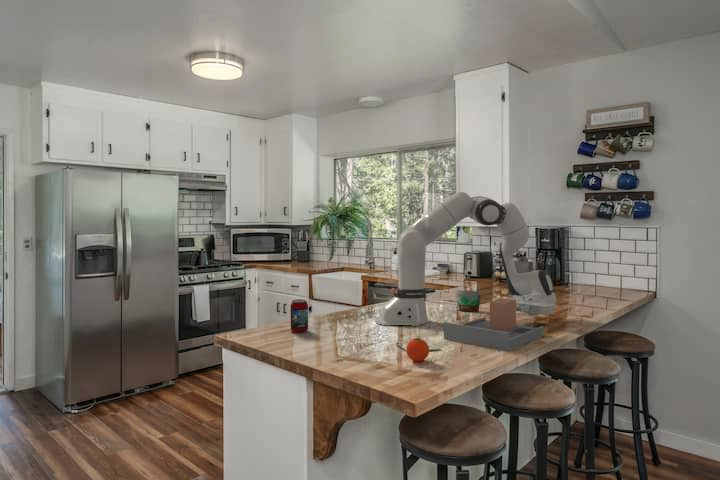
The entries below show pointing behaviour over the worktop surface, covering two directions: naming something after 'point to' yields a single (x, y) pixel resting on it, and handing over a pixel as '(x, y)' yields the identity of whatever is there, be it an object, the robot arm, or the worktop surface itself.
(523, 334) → the tray
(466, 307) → the potted plant
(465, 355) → the worktop surface
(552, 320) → the worktop surface
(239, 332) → the worktop surface
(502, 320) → the block
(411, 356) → the red tomato
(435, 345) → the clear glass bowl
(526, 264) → the flask
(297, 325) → the beverage can
